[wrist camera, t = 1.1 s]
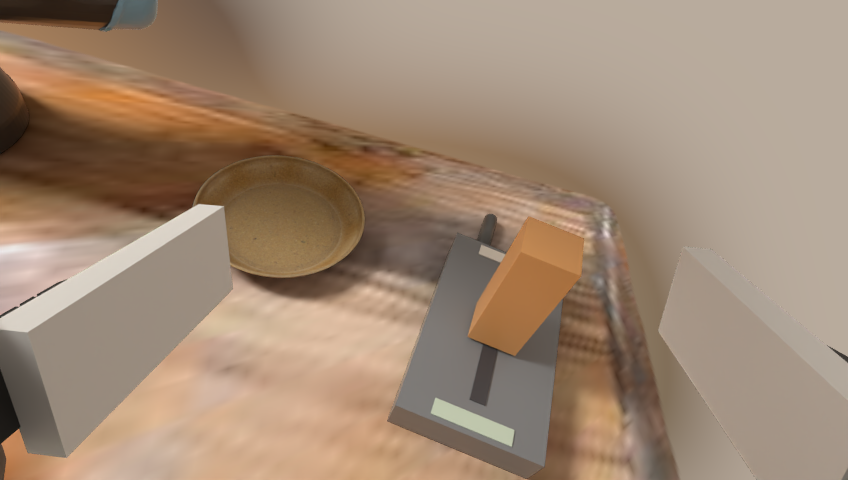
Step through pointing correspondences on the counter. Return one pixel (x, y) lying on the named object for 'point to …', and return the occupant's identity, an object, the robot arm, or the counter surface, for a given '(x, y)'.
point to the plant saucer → (285, 215)
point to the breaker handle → (527, 285)
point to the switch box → (478, 371)
